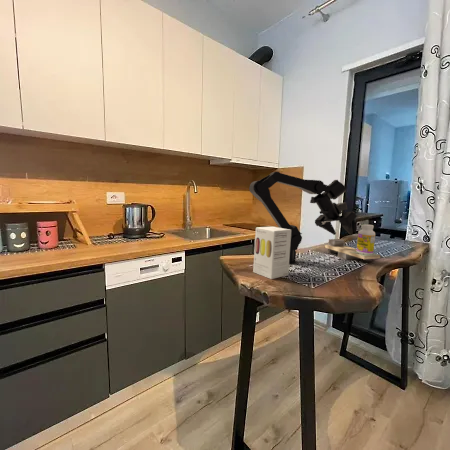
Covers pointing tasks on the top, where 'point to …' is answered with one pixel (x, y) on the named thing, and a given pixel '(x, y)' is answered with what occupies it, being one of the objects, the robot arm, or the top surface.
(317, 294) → the top surface
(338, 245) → the balance beam
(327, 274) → the top surface
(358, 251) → the supplement bottle
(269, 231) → the supplement box
